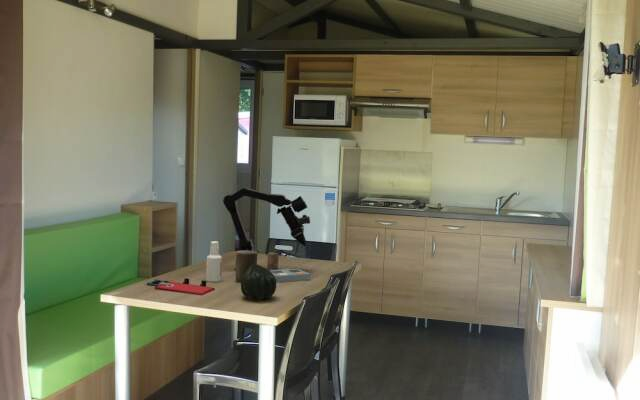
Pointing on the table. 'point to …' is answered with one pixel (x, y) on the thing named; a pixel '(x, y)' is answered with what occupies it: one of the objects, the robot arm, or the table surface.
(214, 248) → the spray bottle
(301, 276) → the socket block
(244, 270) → the pillar candle
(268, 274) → the squash
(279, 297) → the table surface
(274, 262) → the peg
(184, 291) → the red board with handle
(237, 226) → the robot arm
